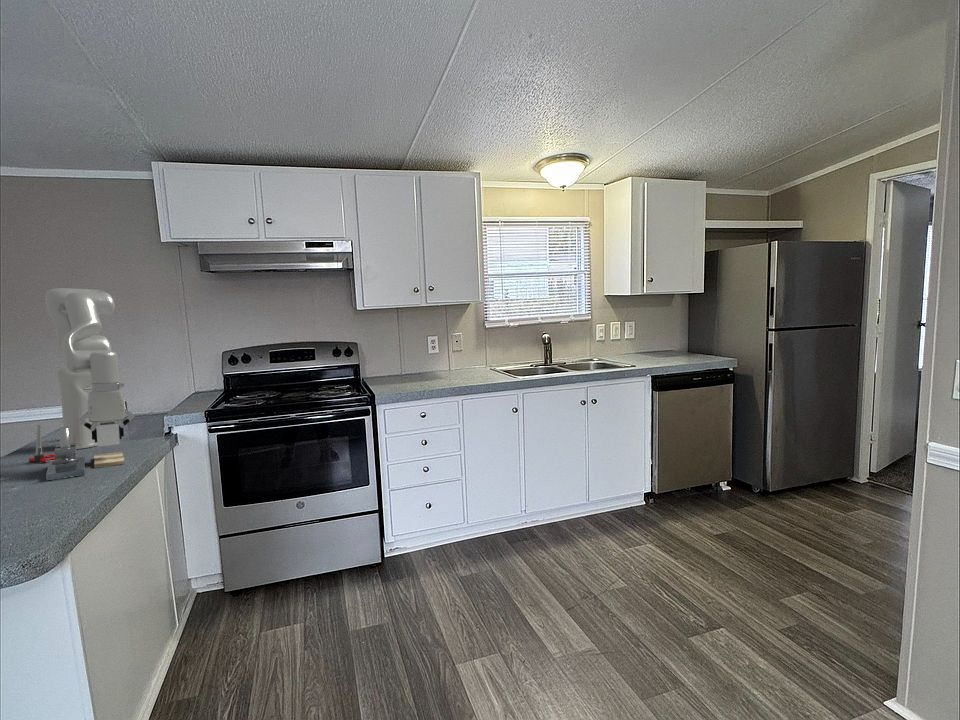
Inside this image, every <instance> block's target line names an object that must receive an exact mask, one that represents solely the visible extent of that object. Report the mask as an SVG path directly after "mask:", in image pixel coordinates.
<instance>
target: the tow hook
mask: <svg viewBox="0 0 960 720" xmlns="http://www.w3.org/2000/svg"><path fill="white" fill-rule="evenodd" d="M36 426H37V430H36V446H35V454H34V455H33V457H30V458H28V462H29V461H34V462H33V463H36V462H46V461H49V460H55V457H49V458H44V457H47V456H55V453H53V454H43V446H42V430H41V424H37V425H36ZM49 462H50V461H49Z"/></svg>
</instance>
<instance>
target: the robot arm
mask: <svg viewBox="0 0 960 720" xmlns="http://www.w3.org/2000/svg"><path fill="white" fill-rule="evenodd" d="M44 297H45V298H44V300H45V307H46V309H47V312H48V314H49V316H50V318H51V319H52V321H53V324H54V326H55V331H56V333H55V334H56V340H57V348H58V353H59V356H60V357H61V359H62V360H63V362H64V365H62V366H60V367H59V368H58V369H57V372H56V378H57V382H58V386H59V392H60V397H61V400H60V401H61V411H62V412H61V413H62V428H65V427H69V430H70V444H71V443H76V450H81V449H82V450H83V449H86V448H87V449H88V448H92V447H98V446H97V429H96V425H97V423H103V422H113V421H117V422H118V423H119V440H122V437H124V436H125V433H124V431H125V430H124V428H125V426H127V425H128V424H129V422H130V421H131V420H133V418H135V414H134V413H132V412H131V411H130V410H128V409H127V408H125V407H126V406H125V405H126V404H125V399H124V394H123V393H124V392H123V391H122V390H120V389H122V388H125V382H124V383H121V382H120V378H119V361H118V359H119V358H118V354H117V352H116V351H113V349H112V345H111V342H110V340H109V339H108V338H107V337H106V336H104V335H97V334H99V333H100V332H101V331H102V329H103V328H102V327H103V326H102V322H101V319H100V316H111V315H112V314H114V313H115V308H116V304H115V301H114V298H113V296H112V295H111V294H110V293H108V292H106V291H103V290H100V289H89V288H73V287H72V288H71V287H70V288H68V287H64V288H63V287H62V288H61V287H59V288H58V287H57V288H52V289H49V290H48V291H46V293H45V296H44ZM90 388H91V391H90V392H87V391H86V390H85V389H90ZM126 416H127V418H126ZM123 419H124V420H123Z"/></svg>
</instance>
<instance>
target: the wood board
mask: <svg viewBox="0 0 960 720" xmlns="http://www.w3.org/2000/svg"><path fill="white" fill-rule="evenodd" d="M93 459H94V460H93V462H94V463H93V465H94V469H98V468H97V467H100V468H105V467H104V466H107V467H111V466H113V465H114V466H120V464H121V465H126V464H125V458H124V454H123V451H117V452H110V453H102V454H95V455H93ZM114 466H113V467H114Z"/></svg>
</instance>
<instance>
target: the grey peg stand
mask: <svg viewBox="0 0 960 720" xmlns="http://www.w3.org/2000/svg"><path fill="white" fill-rule="evenodd" d="M59 443H60V444H56V445H55V448H54V454H55V457H54V458H55V461H49V462H48V467H47V470H46V474H45V478H46V479H45V480H46V481H45V482H48V481H47V480H52V481H55V480H54V479H58V480H60V479H59V478H64V477H70V476H79V477H81V476H80V475H86V474H85V472H86V461H85V460H86V456H80V457H77V449H76V443H71V444H70V430H69V427H65V428H63V427H60V428H59Z"/></svg>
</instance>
